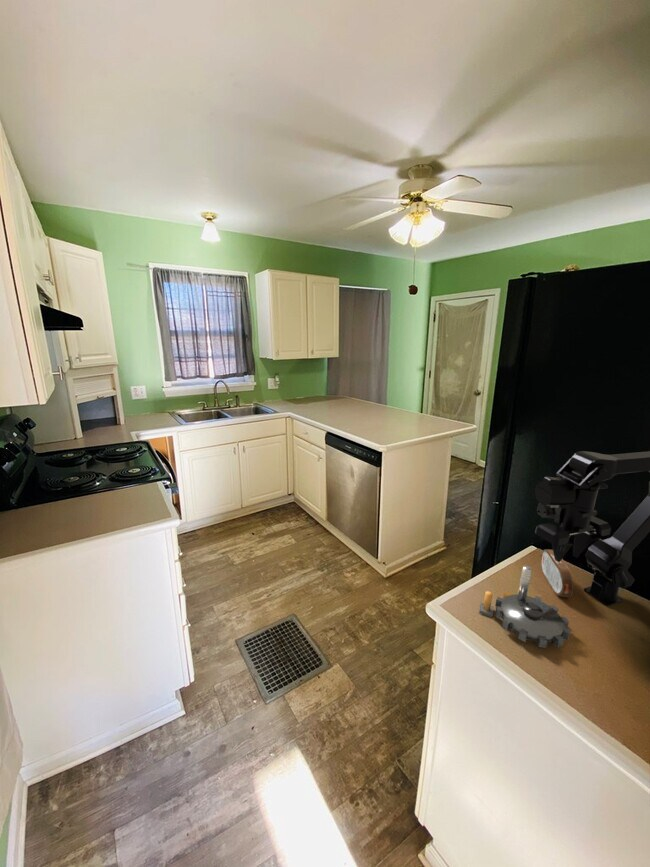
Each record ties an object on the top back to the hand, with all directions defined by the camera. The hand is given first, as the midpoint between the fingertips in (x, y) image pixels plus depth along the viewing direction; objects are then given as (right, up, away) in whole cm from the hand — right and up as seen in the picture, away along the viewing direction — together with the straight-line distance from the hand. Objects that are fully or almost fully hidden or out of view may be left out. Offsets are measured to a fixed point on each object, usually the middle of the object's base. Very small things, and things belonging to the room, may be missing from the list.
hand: (566, 558), depth 91 cm
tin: (+2, -10, +9) cm, 14 cm away
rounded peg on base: (-21, -12, -2) cm, 25 cm away
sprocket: (-13, -13, -6) cm, 19 cm away
